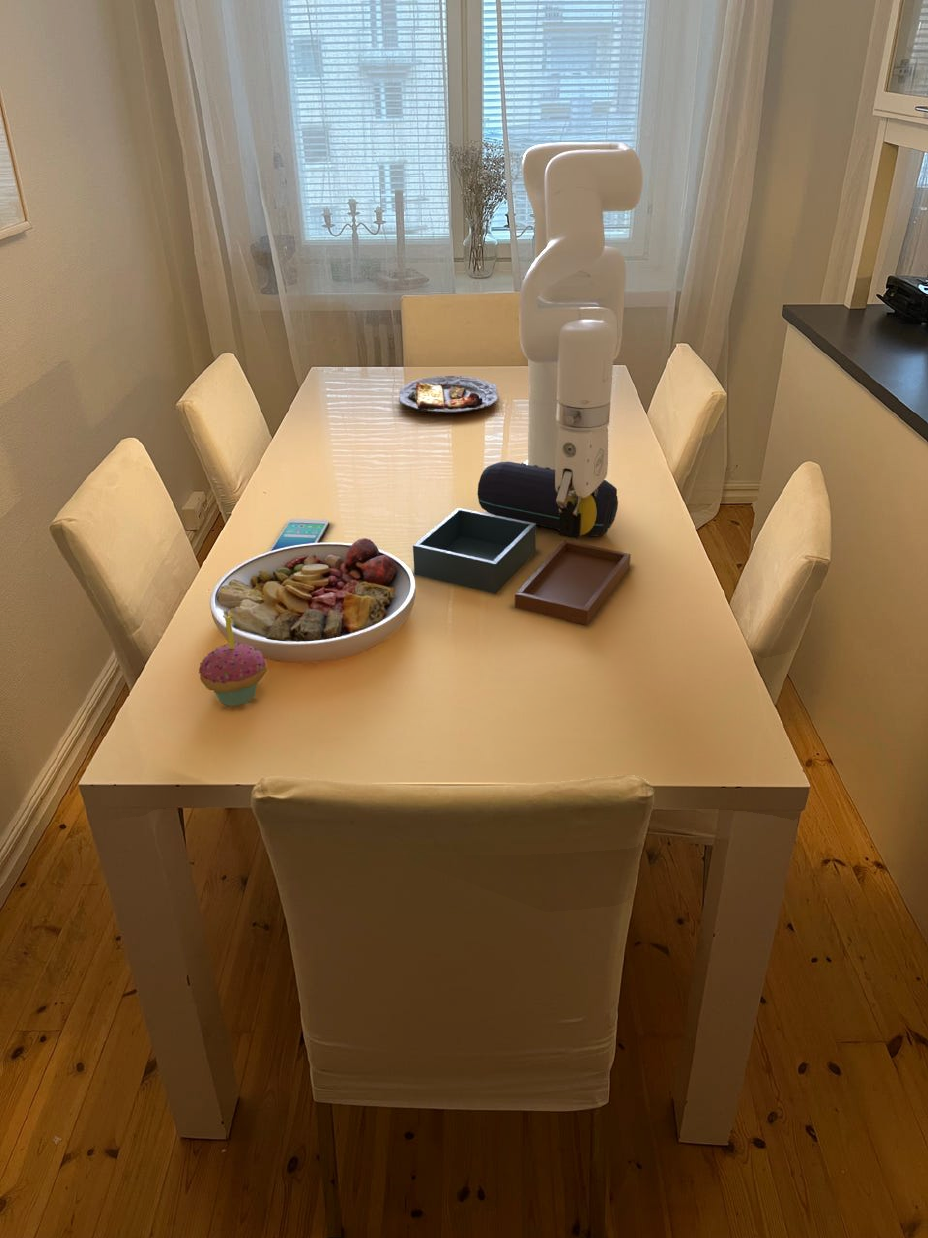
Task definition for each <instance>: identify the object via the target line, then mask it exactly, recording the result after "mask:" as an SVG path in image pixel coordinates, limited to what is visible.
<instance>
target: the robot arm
mask: <svg viewBox="0 0 928 1238" xmlns="http://www.w3.org/2000/svg"><path fill="white" fill-rule="evenodd" d="M522 157H523V158H522V163H521V171H522V172H521V173H522V174H521V175H522V180H523V185H524V189H525V192H526V195H527V198H528V201H529V204H530V206H531V209H532V212H533V216H534V217H533V218H534V225H535V236H534V261H533V262H532V264H531V265H530V267H529V269H528V270H527V272H526V274H525V275H524V278H523V280H522V283H521V287H520V291H519V300H518V316H519V319H518V320H519V321H518V322H519V341H520V347H521V352H522V353H523V355H524V357H525V358H526V359H527V364H528V422H527V423H528V424H527V425H528V426H527V427H528V428H527V429H528V430H527V460H526V461H524V462H523V463H525V464H526V465H531V466H534V465H537V466H538V467H542V468H546V467H548V468H550V469H552V470H555V488H556V491H557V493H558V496H557V499H556V503H557V504H558V506H559V513H560V515H559V530H558V535H559V536H560V537H565V538H569V539H572V540H573V539H574V540H578V539H579V538H580V537H581V536H580V529H581V514H580V513H579V509H580V503H581V497H582V498H586V497H588V496H589V495H591V496H592V497H593V496H596V495H597V492H598V489H597V487H598V486H599V485H600V484H601V483H602V482H603V481H604V480H606V478H607V476H608V470H609V468H608V467H609V427H608V426H609V425H610V415H611V403H612V402H611V401H612V384H613V371H614V370H613V368H614V361H615V360H616V358H617V357H618V356H619V354H620V350H621V346H622V337H623V327H624V325H623V324H624V312H625V311H624V309H625V297H626V281H627V279H626V278H627V273H626V272H627V269H626V262H625V258H624V255H623V253H622V252H621V251H620V250H619V249H618V248H616V247H613V246H610V245H609V246H608V245H606V235H605V224H604V223H605V222H604V212H629V211H633V209H635V208H636V207H637V206H638V204H639V202H640V199H641V196H642V191H643V171H642V165H641V162H640V159H639V156H638V154H637V152H636V151H635V149H634V148H632V147H631V146H630V145H629V144H628V143H626V142H621V141H600V142H599V141H597V142H596V141H595V142H590V141H589V142H579V141H578V142H577V141H574V142H571V141H570V142H569V141H567V142H549V143H542V144H536V145H534V146H531V147H530V148H528V149H527V150H526V151H525V153H524V154H523V156H522ZM539 300H540V301H541V302H543V303H546V304H553V305H596V306H597V307H595V306H594V307H592V306H591V307H590V306H589V307H578V306H577V307H576V306H575V307H574V306H573V307H539ZM571 489H575V492H576V493H573V492H570V490H571ZM568 497H573V498H575V503H574V505H573V503H572V502H570V501H569V498H568ZM593 498H594V501H595V504H596V499H597V497H593Z"/></svg>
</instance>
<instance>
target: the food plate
mask: <svg viewBox="0 0 928 1238" xmlns="http://www.w3.org/2000/svg"><path fill="white" fill-rule="evenodd" d="M399 390H400V391H399V397H398V401H399V403H400V404H401V405H402V406H405V407H408V408H410V409H412V410H416V411H421V412H425V413H433V412H434V413H451V414H456V413H457V414H458V413H465V412H470V411H475V410H476V411H477V410H478V411H479V410H482V409H486V408H487V409H488V408H490V407H491V406H492V404H494V405H495V404H496V403H497V401H498V386H497V385H495V384H494V383H493V382H489V381H485V380H481V379H479V378H474V377H468V376H462V375H460V376H457V375H446V376H433V377H426V378H421V379H419V378H418V379H416V380H413V381H410V382H408V383H406V384H405V385H403V386H402V387H401V388H400V389H399Z"/></svg>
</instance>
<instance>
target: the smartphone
mask: <svg viewBox="0 0 928 1238" xmlns="http://www.w3.org/2000/svg"><path fill="white" fill-rule="evenodd" d="M329 527H330V521H329V520H328V519H314V518H313V519H312V518H311V519H310V518H291V519H288V521H287V522H286V524H285V526H284V527H283V529H282V530H281V532H280V534H279V535H278V537H277V538H276V539H275V541H274V542H273V544H272V546H271V547H270V549H269V550H268V552H270V551H273V550H277V549H280V548H285V547H290V546H295V545H302V544H310V543H321V541H322V539H323V538H324V536H325V534H326V532H327V530H328V529H329Z"/></svg>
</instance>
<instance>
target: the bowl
mask: <svg viewBox="0 0 928 1238" xmlns="http://www.w3.org/2000/svg"><path fill="white" fill-rule="evenodd" d="M414 576H415V575H414V573H413V572H412V570H411V568H409V567H408V566H407V564H405V563H404V561H402V560H400V559H399V558H398V557H397V556H395V555H392V554H391V553H389V552H386V551H384V550H382V549H379V548H378V546H377V545H376V544H375V543H374V541H372V540H371V539H369V538H367V537H366V538H365V537H364V538H359V539H357V540H355V541H354V542H352V543H348V542H347V543H346V542H320V543H310V544H302V545H295V546H290V547H285V548H280V549H277V550H273V551H270V552H269V551H267V552H263V553H261V554H258V555H255V556H253V557H251V558H249V559H247V560H245V561H243V562H241V563H239V564H237V565H235V566H234V567H233V568H232V569H230V570H229V571H228V572H226V573H225V574H224V575H223V576H222V577H221V578H220V579H219V580H218V581H217V583H216V584H215V586H214V587H213V589H212V591H211V594H210V598H209V608H210V613H211V618H212V620H213V623H214V624H215V626H216V628H217V630H218V631H219V632H220V634H221V635H222V636H223V638H225V639H226V641H228V635H227V628H226V621H225V617H226V616H227V615H226V610H228V616H230V619H231V626H232V633H233V640H234V643H240V644H244V645H248V646H250V647H251V646H253V647H254V648H256V650H258V651H261V654H262V655H263V657H264V659H265V660H268V661H273V662H278V663H288V664H314V663H315V664H316V663H324V662H329V661H336V660H340V659H345V658H348V657H352V656H354V655H358V654H360V653H363V652H365V651H368V650H369V649H372V648H374V647H376V646H378V645H380V644H381V643H383V642H385V641H386V640H387V639H389V638H390V637H392V636H393V635H394V634H395V633H396V632H397V631H398V630H399V629H401V627H402V626H403V625H404V624H405V622H407V620H408V618H409V616H410V614H411V612H412V610H413V608H414V604H415V601H416V594H417V593H416V589H417V588H416V580H415V577H414Z"/></svg>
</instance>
